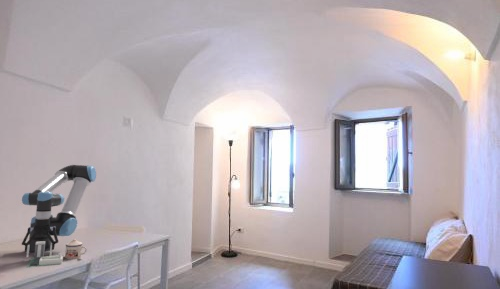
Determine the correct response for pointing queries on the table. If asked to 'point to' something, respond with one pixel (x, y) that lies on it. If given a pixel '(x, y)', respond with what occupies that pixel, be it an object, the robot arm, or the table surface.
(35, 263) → the board
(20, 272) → the table surface
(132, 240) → the table surface
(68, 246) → the teacup with lid
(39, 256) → the plug
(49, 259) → the header
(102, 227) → the table surface
